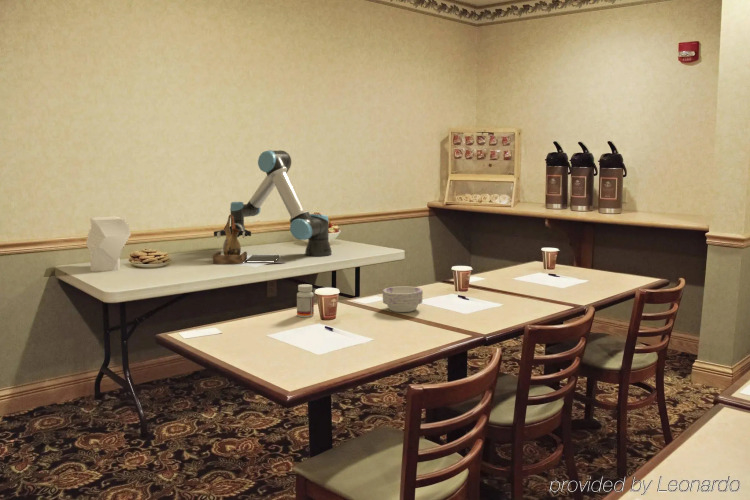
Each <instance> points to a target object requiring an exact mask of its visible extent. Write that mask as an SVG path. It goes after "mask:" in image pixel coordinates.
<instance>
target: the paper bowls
mask: <svg viewBox="0 0 750 500" xmlns="http://www.w3.org/2000/svg"><path fill="white" fill-rule="evenodd" d="M423 295H424V294H423V289H422V288H420V287H416V286H407V285H405V286H404V285H401V286H400V285H399V286H390V287H386V288H384V289H382V303H383V304H384V305H387V307H388V310H389V311H392V312H396V313H411V312H414V311H416V310H417V308H418V306H419V305H420V304H422V303H423Z"/></svg>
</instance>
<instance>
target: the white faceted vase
mask: <svg viewBox="0 0 750 500" xmlns="http://www.w3.org/2000/svg"><path fill="white" fill-rule="evenodd" d="M89 221H90V224H91V225H90V229H89V231H88V234H87V239H86V242H85V243H86V244H85V245H86V247H87V249H88V252H89V257H90V268H89V269H90V272H99V271H101V272H113V271H112V270H114V271H119V270H120V267H121V266H120V264H121V259H120V258H121V255H122V251H123V248H124V247H125V246H126V243H127V242H128V241H129V238H130V236H131V235H132V233H131V229H130V226H129V224H128V223H127V221H125V219H123V218H121V217H119V216H117V215H110V216H109V215H108V216H96V217H91V218H89ZM118 269H119V270H118Z"/></svg>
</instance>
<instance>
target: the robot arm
mask: <svg viewBox="0 0 750 500" xmlns="http://www.w3.org/2000/svg"><path fill="white" fill-rule="evenodd" d="M291 165H292V157H291V155H290V154H289V153H288V152H287V151H285V150H271V149H269V150H265V151H263V152H261V153H260V154H259V157H258V160H257V166H258V168H259V170H260V171H261V172H264V173H266V176H265V177H264V179H263V180H262V182H261V183H260V184H259V186H258V188H257V189H256V191H255V192H254V193H253V195H252V196H251V197H250V199H249V200H248V202H247V203H246V204H244V202H243V201H231V202H230V208H229V211H230V215H232V216H233V218H234V224H235V228H236V229H237V230H239V233H238V235H237V239H238V238H239V237H240V236H242V239H245V237H251V236H252V231H250V230H247V229H246V227H245V218H248V217H255V216H258V215H259V214H260V213H261V206H262V205H263V204H264V202H266V200H267V198H268V197H269V196H270V195H271V193H272V191H273V190H274V188H275V187H276V188H275V189H276V190H277V192H278V194H279V196H280V198H281V200H282V202H283V204H284V205H285V209H286V210H287V212H288V214H289V216H290V219H289V223H290V227H289V230H290V233H291V235H292V236H293V237H294V238H295V239H296V240H300V241H301V240H303V241H305V240H307V244H306V247H305V251H304V254H305V256H311V257H326V256H331V255H333V253H332V252H333V251H332V247H331V244H330V240H329V234H330V233H329V229H330V228H329V223H330V222H329V216H328V215H327V214H315V213H310V212H309V211H308V210H305V208H304V206H303V203H302V202H301V200H300V198H299V196H298V194H297V192H296V190H295V187H294V186H293V184H292V181H291V179H290V178H289V176H288V172H289V170H290V169H291ZM230 231H231V234H232V219H231V218H230ZM213 236H214V237H216V238H217V239H219V238H221V237H222V236H226V233H225V231H224V229H220V230H216V231H215V230H214V231H213Z"/></svg>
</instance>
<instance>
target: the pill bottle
mask: <svg viewBox="0 0 750 500" xmlns="http://www.w3.org/2000/svg"><path fill="white" fill-rule="evenodd" d="M297 290H298V292H297V293H296V316H298V317H299V318H310V317H313V316H314V315H315V314H314V313H315V305H314V303H315V301H314V300H315V299H314V298H315V296H314V292H312V291H313V285H312V284H307V283H306V284H305V283H304V284H303V283H302V284H298V286H297Z"/></svg>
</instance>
